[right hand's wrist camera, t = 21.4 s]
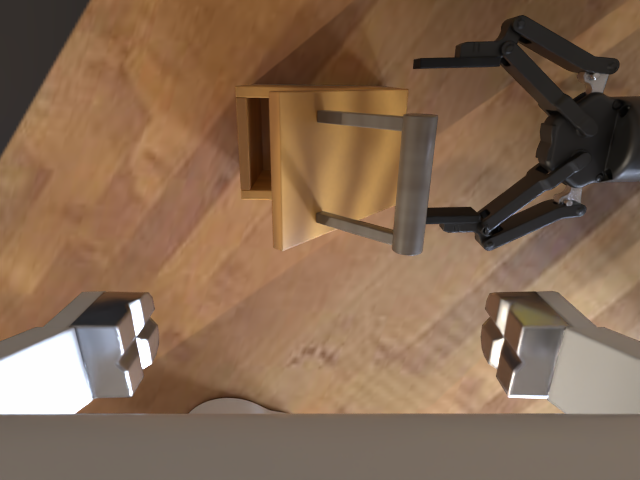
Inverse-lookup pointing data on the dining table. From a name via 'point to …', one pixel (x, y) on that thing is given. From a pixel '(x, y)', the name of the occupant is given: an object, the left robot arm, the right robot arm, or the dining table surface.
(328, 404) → the dining table surface
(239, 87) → the chest
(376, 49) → the dining table surface
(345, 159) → the lid
